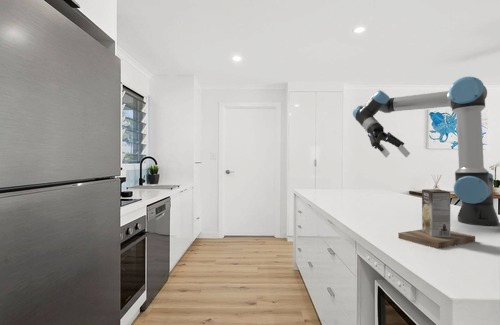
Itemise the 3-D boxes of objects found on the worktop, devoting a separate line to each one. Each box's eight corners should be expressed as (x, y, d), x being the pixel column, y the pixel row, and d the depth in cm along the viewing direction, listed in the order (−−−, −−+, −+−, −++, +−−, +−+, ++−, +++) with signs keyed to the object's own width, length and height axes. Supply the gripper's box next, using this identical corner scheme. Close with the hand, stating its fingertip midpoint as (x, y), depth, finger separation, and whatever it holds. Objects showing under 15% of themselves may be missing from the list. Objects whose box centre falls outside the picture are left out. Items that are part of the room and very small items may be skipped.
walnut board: (434, 232, 117) (433, 227, 117) (475, 241, 104) (475, 236, 104) (398, 238, 110) (398, 232, 110) (438, 248, 96) (437, 242, 96)
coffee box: (421, 231, 112) (421, 189, 112) (439, 231, 111) (439, 189, 111) (431, 237, 103) (431, 191, 103) (451, 237, 102) (451, 191, 102)
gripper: (386, 133, 162) (411, 160, 148) (351, 132, 152) (374, 161, 138) (394, 123, 157) (420, 149, 143) (358, 120, 147) (383, 149, 133)
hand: (398, 155), depth 141 cm, fingers open, 13 cm apart
